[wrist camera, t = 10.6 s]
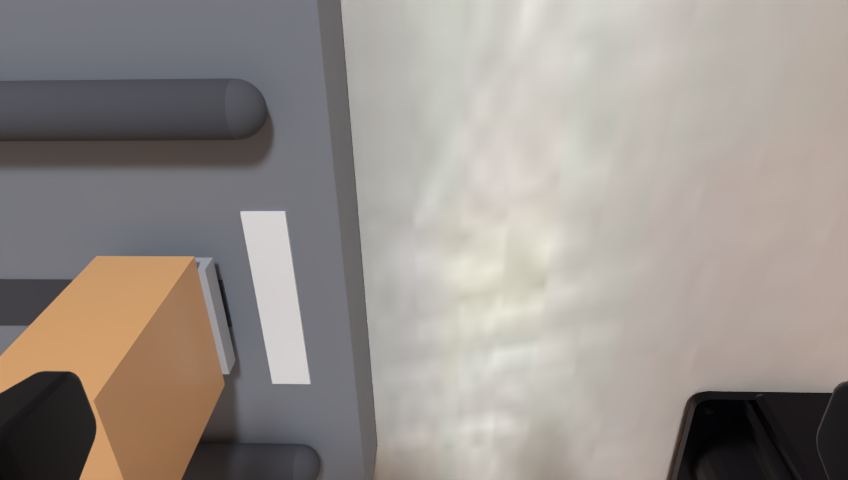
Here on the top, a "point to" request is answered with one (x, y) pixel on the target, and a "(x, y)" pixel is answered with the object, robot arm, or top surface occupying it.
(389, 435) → the top surface
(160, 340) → the breaker handle
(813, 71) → the top surface
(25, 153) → the panel
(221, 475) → the grey slider track
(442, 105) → the top surface
